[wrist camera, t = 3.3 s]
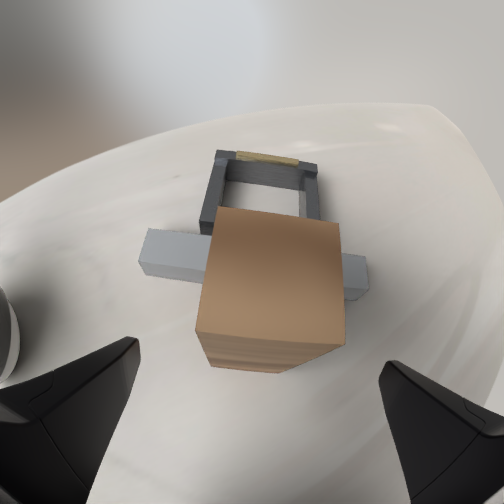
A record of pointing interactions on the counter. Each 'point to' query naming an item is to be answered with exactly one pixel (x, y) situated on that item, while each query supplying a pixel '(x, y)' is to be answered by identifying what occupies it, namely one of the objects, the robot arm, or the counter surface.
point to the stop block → (271, 291)
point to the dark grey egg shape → (8, 338)
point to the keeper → (259, 181)
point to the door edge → (196, 254)
